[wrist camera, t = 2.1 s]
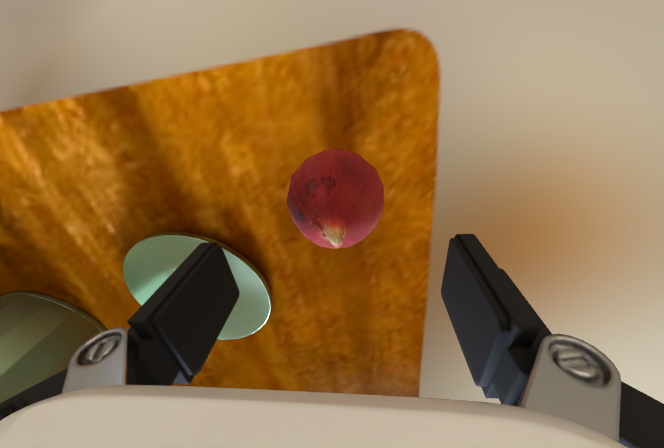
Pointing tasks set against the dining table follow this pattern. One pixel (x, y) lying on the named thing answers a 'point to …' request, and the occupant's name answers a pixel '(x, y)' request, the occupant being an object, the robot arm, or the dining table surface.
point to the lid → (171, 250)
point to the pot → (38, 338)
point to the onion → (335, 198)
